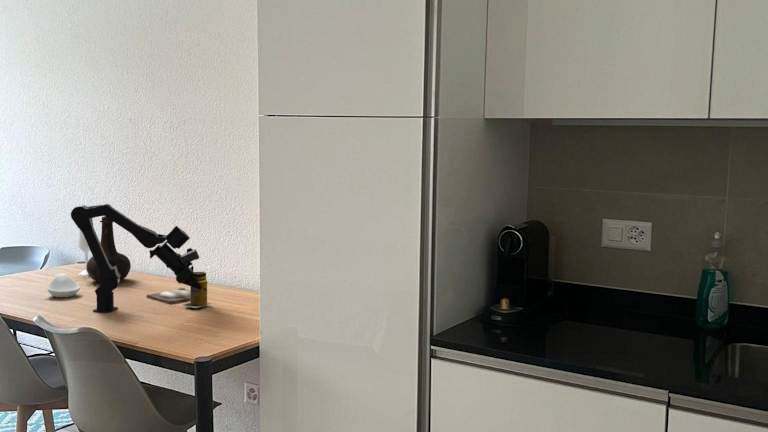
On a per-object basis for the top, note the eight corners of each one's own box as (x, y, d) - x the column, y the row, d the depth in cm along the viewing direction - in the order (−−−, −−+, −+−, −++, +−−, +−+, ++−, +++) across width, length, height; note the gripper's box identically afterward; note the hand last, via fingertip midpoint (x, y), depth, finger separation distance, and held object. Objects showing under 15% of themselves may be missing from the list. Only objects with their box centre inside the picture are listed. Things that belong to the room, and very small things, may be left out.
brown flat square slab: (169, 304, 283) (169, 299, 283) (146, 297, 293) (146, 292, 293) (205, 297, 295) (205, 292, 295) (181, 291, 306) (181, 286, 305)
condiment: (212, 304, 281) (212, 272, 280) (196, 308, 274) (196, 275, 272) (197, 301, 284) (197, 270, 283) (181, 305, 277) (181, 273, 276)
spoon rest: (82, 298, 292) (82, 280, 291) (49, 301, 286) (48, 282, 285) (73, 286, 312) (72, 269, 311) (42, 289, 306) (41, 272, 305)
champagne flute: (85, 275, 334) (84, 221, 331) (75, 273, 337) (74, 220, 335) (98, 273, 340) (96, 220, 337) (88, 271, 343) (86, 219, 340)
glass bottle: (113, 287, 311) (111, 219, 308) (77, 283, 317) (75, 217, 314) (139, 279, 328) (138, 215, 325) (105, 276, 334) (103, 213, 330)
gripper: (185, 246, 267) (217, 276, 271) (186, 238, 285) (216, 266, 289) (162, 268, 266) (194, 298, 270) (164, 259, 284) (194, 287, 288)
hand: (200, 286), depth 279 cm, fingers closed on condiment, 6 cm apart
